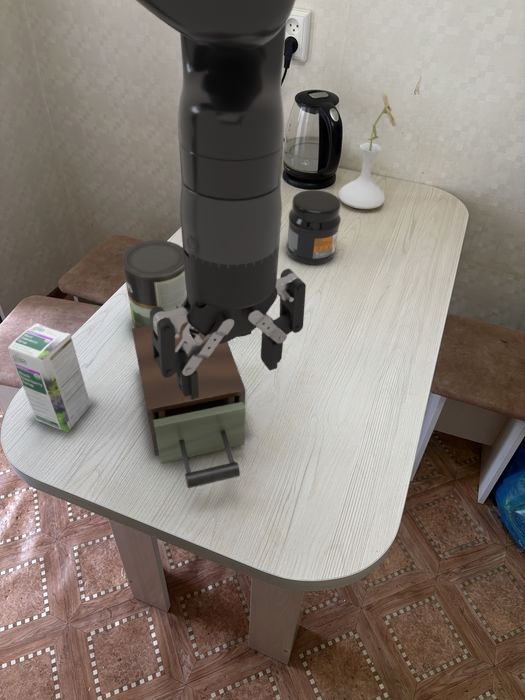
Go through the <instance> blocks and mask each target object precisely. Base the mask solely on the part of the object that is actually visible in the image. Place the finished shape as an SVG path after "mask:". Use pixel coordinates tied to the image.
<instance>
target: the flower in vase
mask: <svg viewBox="0 0 525 700" xmlns="http://www.w3.org/2000/svg"><path fill="white" fill-rule="evenodd" d="M381 95H382V96H381V97H382V102H383V105H384V107H383V110H382V111H381V113H380V114H379V115H378V117H377V118H376V120H375V122H374V124H372V130H371V135H370V138H367V141H370V142H364V143H361V144H360V145H359V148H360V150H361V153H362V167H361V172H360V174H359V176H358V177H357V178H355V179H354V180H352V181H350V182H348V183H346V184H345V185H343V186H342V187H341V188H340V190H338V197H339V200H340V202H342V203H343V204H345V205H347V206H349V207H351V208H355V209H360V210H370V209H371V210H372V209H376V208H379V207H380V206H382V205H383V204H384V203H385V199H386V197H385V193H384V192H383V191H382V188H380V186H379V185H377V184H376V183H375V182H374V180H373V179H372V169H373V165H374V162H375V160H376V158H377V156H378V154H379V153H380V152H381V151H382V150H383V148H382V146H381V145H379V144H377V143H373V140H377V139H379V138H380V136H378V135H377V134H378V133H377V129H376V125H377V123H378V122H379V120H380V119H381V117H382V116H383V115H384V114H386V115H387V118H388V120H389V122H390V124H391V126H392V127H394V128H395V126H397V123H396V119H395V117H394V115H393V113H392V106H391V104H389V98H388V94H387V92H386V90H384V91H382V92H381Z"/></svg>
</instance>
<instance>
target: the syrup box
mask: <svg viewBox="0 0 525 700" xmlns="http://www.w3.org/2000/svg"><path fill="white" fill-rule="evenodd" d="M7 351H8V353H9V356H10V358H11V361H12V363H13V365H14V368H15V371H16V373H17V376H18V378H19V381H20V383H21V386H22V388H23V390H24V393H25V395H26V398H27V400H28V403H29V405H30V407H31V410H32V414H33V415H34V418H35V420H36V422H39V423H42V424H45V425H46V426H50V427H52V428H54V429H57V430H60V431H62V432H64V433H69V432H70V431H71V429H72V428H73V427H74V426H75V424H77V422H78V421H79V420H80V419H81V417H82V416H84V414H85V413H86V412H87V410H88V409H89V408H90V407H91V401H90V398H89V395H88V391H87V388H86V385H85V380H84V377H83V374H82V369H81V366H80V363H79V359H78V356H77V352H76V348H75V345H74V342H73V337H72V334H71V333H68V332H64V331H62V330H58V329H56V328H54V327H51V326H47V325H44V324H41V323H38V322H36V323H34V324H33V325H32V326H30V327H29V328H27V329H26V330H24V331H23V332H22V333H21V334H20V335H19V336H17V337H16V338H15V339H14V340H13V341H12V342H11V343H10V344H9V345H8V346H7Z"/></svg>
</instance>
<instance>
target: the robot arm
mask: <svg viewBox="0 0 525 700" xmlns="http://www.w3.org/2000/svg"><path fill="white" fill-rule="evenodd" d="M135 1H136V2H137V3H138V4H140V5H141V6H142V7H143V8H145V9H146V10H147V11H148V12H150V13H151V14H153V15H154V16H155V17H156V18H158V19H159V20H160V21H162V22H163V23H164V24H166V25H167V26H169V27H170V28H171V29H173V30H174V31H176V32H177V33H179V37H180V50H181V65H182V88H181V93H180V98H179V103H178V104H179V105H178V116H177V132H178V133H177V135H178V137H177V138H178V146H179V147H178V148H179V162H180V176H181V186H180V188H181V190H180V199H179V201H180V202H179V208H180V209H179V212H180V213H179V214H180V215H179V216H180V228H181V241H182V242H181V243H182V248H183V257H184V270H185V283H186V291H187V297H186V300H185V303H184V305H183V307H182V308H178V309H174V310H170V311H166V312H165V311H164V309H163V308H162V307H160V306H157V307H154V308H153V309H152V310H151V311H150V326H151V341H152V357H153V359H154V361H155V362H156V363H157V365H158V367H159V369H160V371H161V373H162V375H163V377H166V378H168V377H171V376H173V375H174V374H175V373H176V375H177V384H178V386H179V388H180V389H181V391H182V393H183V394H184V396H185V397H187V396H189V397H190V399H191V400H194V399H196V398H199V389H198V373H197V371H196V368H197V367H198V365H199V364H200V362H201V361H202V360H203V358H208V357H210V355H211V354H212V352H213V351H214V349H215V348H216V347H217V345H218V344H219V343H220V344H222V343H225V342H228V343H229V342H230V341H232V340H233V339H235V338H240V337H246V336H249V335H252V331H254V330H255V329H256V328H257V329H258V330H260V331H261V341H260V343H261V344H260V359H261V362H262V363H263V364H264V366H265V367H266V368H267V369H268V370H269V371H273V370H276V369H277V368H278V364H279V363H280V362H281V360H282V358H283V346H284V342H285V341H286V340H287V336H288V335H289V334H291V333H293V334H298V333H299V332H301V331H302V330H303V328H304V320H305V304H306V291H307V285H306V283H305V282H304V281H303V280H302V279H301V278H300V277H299V276H298V275H297V274H296V273H295V272H294V271H293V270H292V269H291V268H285V269H283V270H282V271H281V273H280V277H279V278H278V269H279V268H278V267H279V255H280V239H281V228H282V216H283V204H282V202H283V201H282V189H281V187H282V185H281V182H282V180H281V179H282V170H283V169H282V168H283V167H282V166H283V155H284V142H285V141H284V140H285V138H284V137H285V119H284V118H285V116H284V115H285V114H284V106H283V105H284V103H283V96H282V95H283V94H282V78H283V77H282V75H283V65H284V54H285V43H286V33H287V21H288V20H289V18H290V16H291V14H292V12H293V9H294V7H295V3H296V0H135ZM278 297H279V317H276V318H275V319H273V318H272V317H271V316H270V315H269V314H268V313H269V310H270V309H271V308H272V307H273V305H274V303H275V302H276V300H277V298H278ZM187 322H188V324H187V326H186V327H185V329H184V330H183V333H182V336H183V337H182V340H181V341H180V343H179V344H178V346H177V347H176V349H175V338H179V336H180V334H179V332H180V330H181V327H182V325H183V324H185V323H187ZM199 333H202V334H203V335H204V336H206V337H205V339H204V340H202V339H201V337H200V335H199ZM190 351H191V353H190V354H189V356H188V353H189V352H190Z"/></svg>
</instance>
